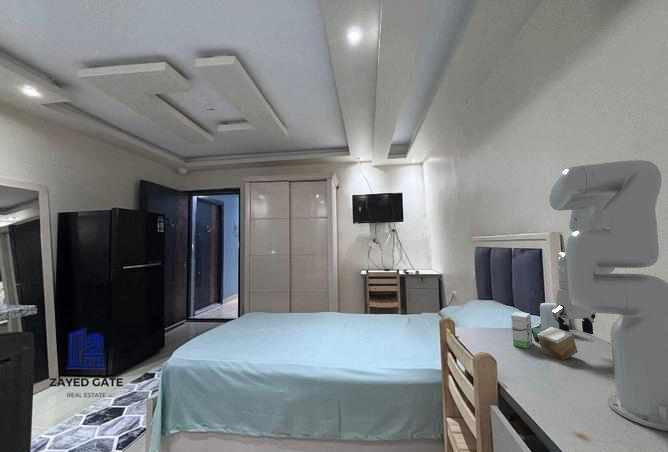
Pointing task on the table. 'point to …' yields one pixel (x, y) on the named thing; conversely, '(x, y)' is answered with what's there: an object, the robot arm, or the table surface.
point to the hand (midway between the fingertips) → (576, 334)
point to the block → (557, 343)
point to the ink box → (521, 329)
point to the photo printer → (548, 316)
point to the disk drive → (536, 331)
